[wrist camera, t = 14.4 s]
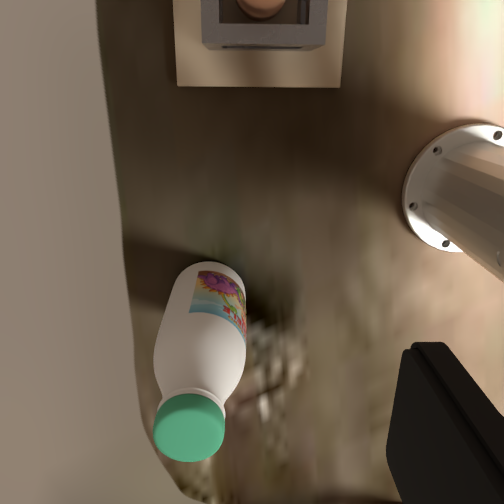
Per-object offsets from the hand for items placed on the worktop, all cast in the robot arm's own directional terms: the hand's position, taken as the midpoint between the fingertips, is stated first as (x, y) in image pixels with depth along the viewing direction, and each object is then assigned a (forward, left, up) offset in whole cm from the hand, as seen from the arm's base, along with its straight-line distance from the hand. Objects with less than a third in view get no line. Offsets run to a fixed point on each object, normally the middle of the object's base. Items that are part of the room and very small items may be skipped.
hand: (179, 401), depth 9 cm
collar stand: (+7, -11, -33) cm, 36 cm away
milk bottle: (-9, +12, -34) cm, 37 cm away
